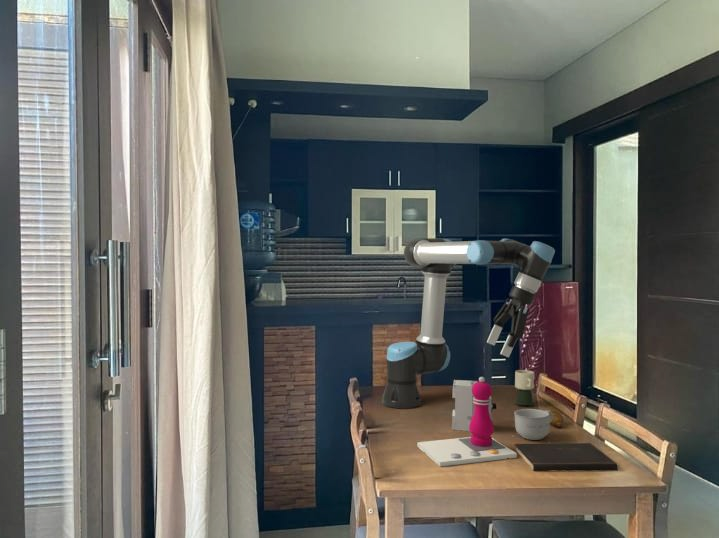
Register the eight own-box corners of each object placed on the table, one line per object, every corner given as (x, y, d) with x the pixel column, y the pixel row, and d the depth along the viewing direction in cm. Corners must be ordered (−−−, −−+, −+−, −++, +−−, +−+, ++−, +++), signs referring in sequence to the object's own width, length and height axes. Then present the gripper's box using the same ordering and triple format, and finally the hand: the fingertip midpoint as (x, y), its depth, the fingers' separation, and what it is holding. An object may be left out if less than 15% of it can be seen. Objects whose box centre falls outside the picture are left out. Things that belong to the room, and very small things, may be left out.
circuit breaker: (496, 433, 174) (496, 387, 173) (452, 429, 177) (452, 385, 176) (495, 425, 181) (495, 382, 181) (452, 422, 184) (453, 379, 184)
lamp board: (417, 446, 161) (417, 441, 161) (488, 438, 168) (488, 433, 168) (439, 466, 146) (439, 460, 146) (516, 457, 153) (516, 452, 153)
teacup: (526, 444, 163) (527, 418, 163) (507, 433, 174) (507, 408, 174) (565, 440, 167) (565, 414, 167) (544, 429, 178) (544, 405, 177)
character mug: (539, 408, 201) (540, 374, 201) (521, 409, 200) (521, 375, 200) (527, 401, 212) (527, 368, 211) (509, 401, 211) (510, 368, 211)
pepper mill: (484, 437, 165) (485, 373, 164) (498, 445, 158) (499, 378, 157) (464, 440, 162) (465, 375, 162) (477, 448, 155) (478, 380, 155)
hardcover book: (514, 451, 159) (514, 443, 159) (590, 450, 160) (590, 443, 160) (533, 473, 143) (533, 464, 143) (617, 472, 144) (617, 463, 144)
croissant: (570, 429, 178) (570, 414, 178) (550, 429, 178) (550, 414, 178) (554, 417, 192) (554, 403, 192) (535, 417, 192) (535, 403, 191)
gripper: (552, 300, 157) (522, 365, 159) (520, 287, 182) (495, 343, 184) (529, 291, 156) (499, 356, 158) (501, 279, 181) (475, 335, 183)
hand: (497, 349), depth 171 cm, fingers open, 13 cm apart
